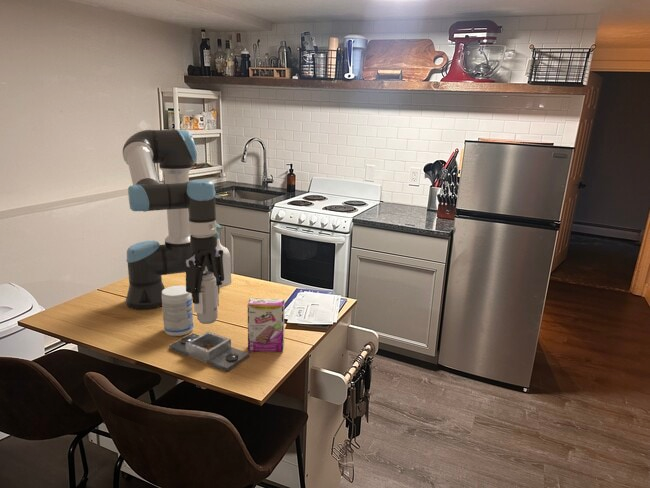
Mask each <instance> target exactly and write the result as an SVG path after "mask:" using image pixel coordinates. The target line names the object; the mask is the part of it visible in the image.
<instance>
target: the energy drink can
mask: <svg viewBox="0 0 650 488" xmlns="http://www.w3.org/2000/svg"><path fill="white" fill-rule="evenodd" d="M200 292H201V293H202V301H203V314H199V313H196V318H197V321H198V322H199V323H200V324H202V325H209V324H210V325H211V324H214V323H216V321H217V319H218V317H219V316H218V315H219V314H218V311H219V310H218V306H217V288H216V277H215V276H214V273H213V272H211V271H203V276H202V282H201V288H200Z"/></svg>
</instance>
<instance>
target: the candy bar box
mask: <svg viewBox="0 0 650 488" xmlns="http://www.w3.org/2000/svg"><path fill="white" fill-rule="evenodd" d="M285 303H286V301H285V299H284V298H250V297H249V300H248V302H247V351H248V353H250V352H253V353H255V352H257V353H258V352H260V353H283V351H284V347H285V305H286V304H285Z"/></svg>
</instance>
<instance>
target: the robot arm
mask: <svg viewBox="0 0 650 488" xmlns="http://www.w3.org/2000/svg"><path fill="white" fill-rule="evenodd" d="M197 156H198V155H197V148H196V144H195V140H194V138H193V135H192V133H191V132H190V131H188V130H182V129H146V130H145V129H144V130H141V131H137V132H136V133H134V134H132V135H131V136H130V137H129V138H128V139H126V141H125V143H124V145H123V146H122V157H123V161H124V162H125V163H126V165H128V169H129V173H130V178H131V181H132V183H131V184H132V185H130V186H128V189H127V192H128V193H127V194H128V195H127V196H128V204H129V209H130V210H131V211H133V212H143V213H144V212H150V211H151V212H153V211H165V210H166V216H167V217H166V218H167V230H168V231H167V232H168V235H167V236H166V237H165V238H164V243H163V244H160V243H159V241H156V240H145V241H140V242H137V243H134V244H132V245H129V247H128V248H127V250H126V259H125V260H126V263H127V269H128V271H127V272H128V282H129V285H128V290H127V294H126V298H125V305H126V307H128V309H132V310H138V311H139V310H140V311H145V310H153V309H157V308H159V307H160V308H161V307H162V290H164V289H165V288H166V287H165V286H164V283H163V277H162V276H166V275H175V274H182V273H183V274H185V286H186V292H189V293H191V295H192V304H193V307H194V313H196V314H197V313H199V314H203V301H202V293H201V292H200V288H201V282H202V276H203V271H204V270H205V267H206V266H207V269H208V271H211V272H213V273H214V276H215V277H216V288H217V307H219V306H220V298H219V297H220V287H219V285H222V282H221V281H224V270H223V258H222V257H223V250H219V249H216V247H217V235H216V234H215V233H216V232H217V229H216V223H217V215H216V212H217V211H216V210H217V209H216V195H217V194H216V192H217V191H216V189H215V183H214V182H213V181H212V180H208V179H193V180H190V178H189V177H190V176H189V175H190V173H189V172H190V171H191V170H192V169H193V163H194V164H195V163H197V160H198V157H197ZM155 164H159V167H158V168H159V169H160V170H161V171H162V172H163V174H164V183H160V179H159V177H158V173H157V170H156V167H155ZM200 266H201V267H200Z"/></svg>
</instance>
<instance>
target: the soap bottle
mask: <svg viewBox="0 0 650 488" xmlns="http://www.w3.org/2000/svg"><path fill="white" fill-rule="evenodd" d="M222 229H223V227H222V226H221V224H219V223H218V222H216V230H222ZM215 234H216V235H217V247H216V249H219V250H223V257H222V258H223V270H224V281H221V282H222V285H219V288H223V287H225V286H228V285H231V284H232V266H231V265H232V262H231V261H232V260H231V252H230V251H229V249H228V248H227V247H225V246H223V245H222V244H221V240H220V233H219V232H218V231H216V233H215ZM200 267H201V266H200ZM204 271H208V269H207V266H206V267H205V270H204Z"/></svg>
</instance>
